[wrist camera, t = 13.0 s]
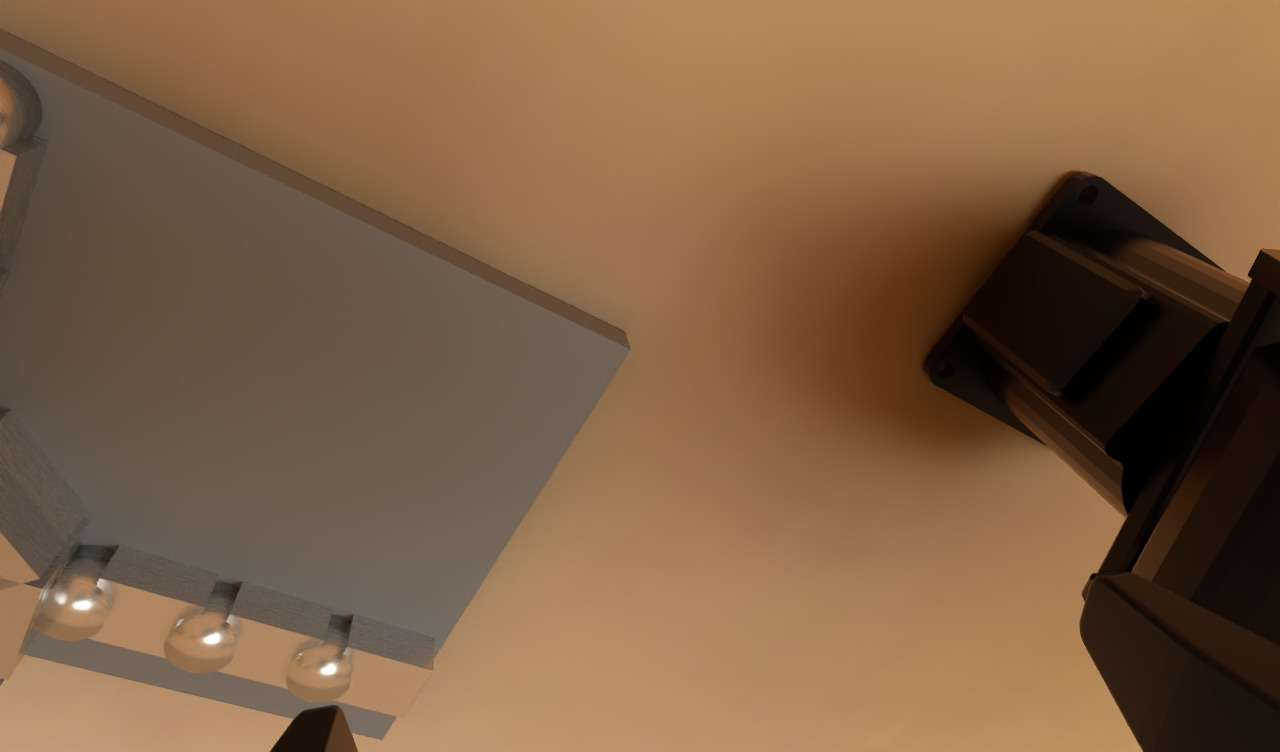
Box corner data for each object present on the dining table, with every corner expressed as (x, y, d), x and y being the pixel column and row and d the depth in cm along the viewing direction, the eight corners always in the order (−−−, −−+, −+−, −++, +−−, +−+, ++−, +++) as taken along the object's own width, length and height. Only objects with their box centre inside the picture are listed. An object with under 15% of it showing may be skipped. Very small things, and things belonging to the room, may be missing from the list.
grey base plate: (625, 332, 21) (630, 349, 20) (385, 712, 26) (382, 739, 25) (-185, -62, 14) (-229, -62, 14) (-289, 542, 20) (-326, 570, 19)
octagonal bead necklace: (616, 350, 20) (630, 400, 18) (365, 748, 25) (353, 822, 23) (-268, -67, 13) (-408, -68, 11) (-356, 579, 19) (-464, 660, 17)
